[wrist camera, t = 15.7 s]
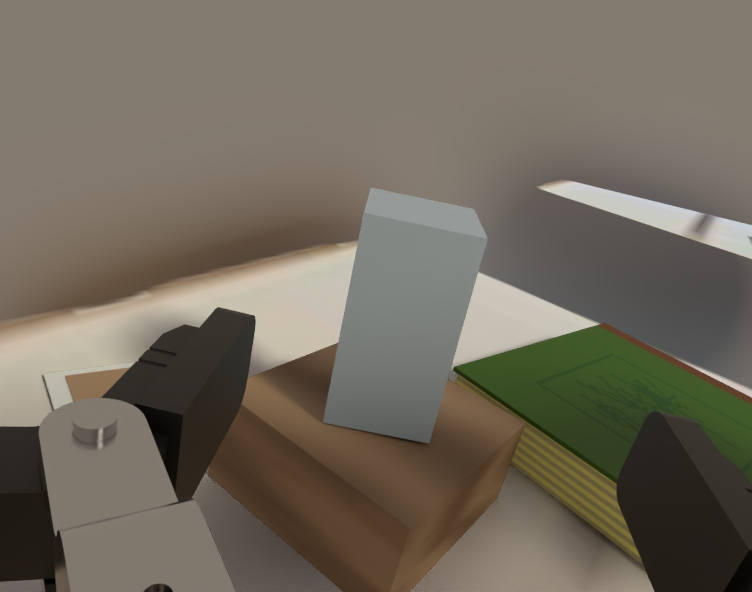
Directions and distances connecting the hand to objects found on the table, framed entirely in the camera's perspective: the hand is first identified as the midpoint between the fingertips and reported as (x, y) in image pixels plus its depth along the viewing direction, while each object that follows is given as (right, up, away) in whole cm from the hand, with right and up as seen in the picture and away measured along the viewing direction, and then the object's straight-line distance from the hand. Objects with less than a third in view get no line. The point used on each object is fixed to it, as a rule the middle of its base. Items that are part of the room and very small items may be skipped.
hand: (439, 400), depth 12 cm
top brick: (-1, -3, +15) cm, 15 cm away
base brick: (-2, -7, +16) cm, 18 cm away
